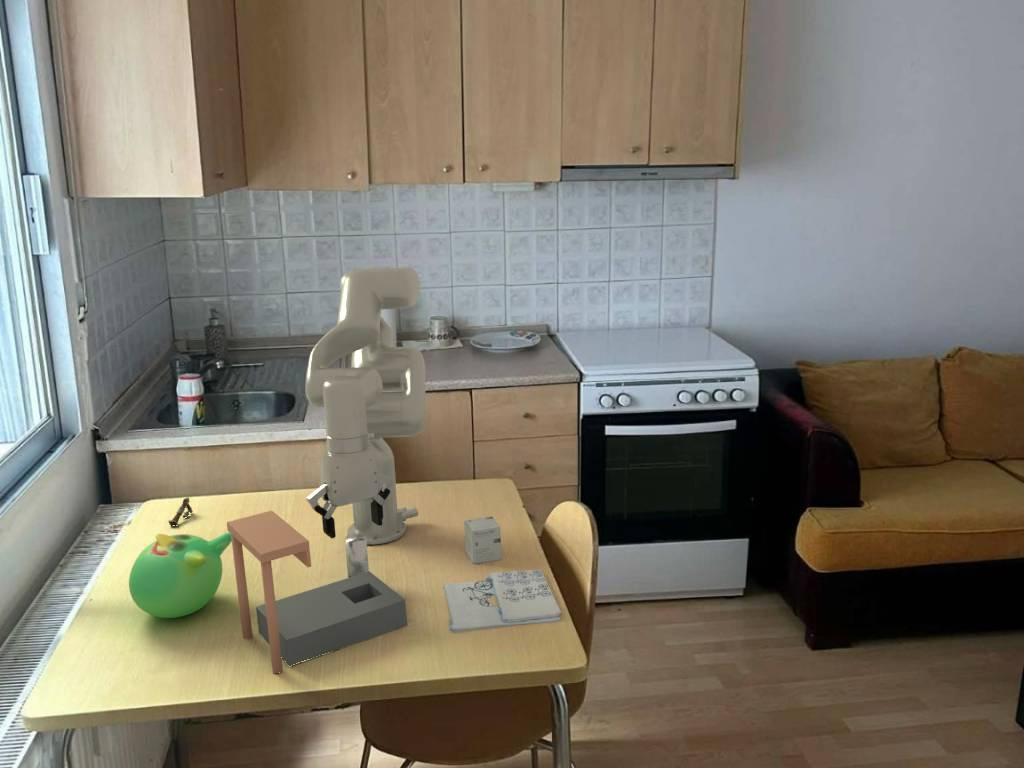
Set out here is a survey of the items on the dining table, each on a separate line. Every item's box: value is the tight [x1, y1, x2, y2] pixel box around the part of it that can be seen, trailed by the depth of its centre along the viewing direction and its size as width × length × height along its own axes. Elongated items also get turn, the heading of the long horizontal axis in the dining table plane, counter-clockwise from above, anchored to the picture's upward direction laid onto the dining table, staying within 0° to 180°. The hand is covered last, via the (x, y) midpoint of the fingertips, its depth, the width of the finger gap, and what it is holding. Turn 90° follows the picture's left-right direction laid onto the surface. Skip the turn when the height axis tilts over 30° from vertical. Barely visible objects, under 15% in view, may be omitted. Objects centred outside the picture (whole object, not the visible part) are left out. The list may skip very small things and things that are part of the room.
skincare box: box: [464, 516, 502, 565], centre depth 193 cm, size 6×6×7 cm
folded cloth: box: [442, 569, 562, 633], centre depth 175 cm, size 19×20×2 cm
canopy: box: [226, 510, 312, 674], centre depth 159 cm, size 8×16×22 cm, turn 35°
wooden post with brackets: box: [168, 497, 193, 526], centre depth 217 cm, size 2×8×4 cm, turn 168°
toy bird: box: [128, 531, 232, 619], centre depth 174 cm, size 18×17×15 cm
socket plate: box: [255, 570, 408, 667], centre depth 167 cm, size 22×14×5 cm, turn 125°
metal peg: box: [344, 534, 370, 578], centre depth 182 cm, size 4×4×10 cm
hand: (354, 529), depth 179 cm, fingers open, 9 cm apart
